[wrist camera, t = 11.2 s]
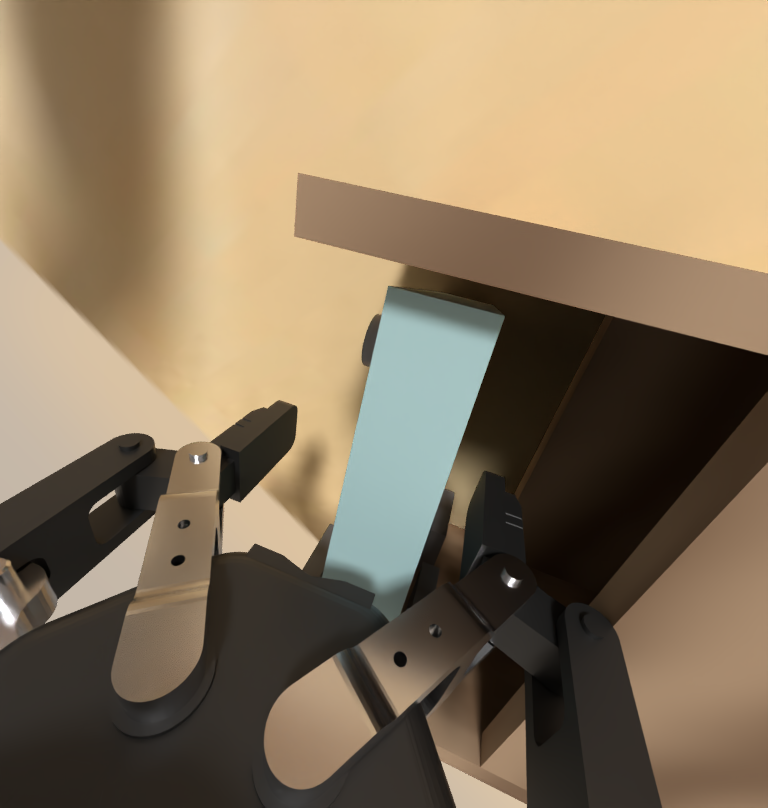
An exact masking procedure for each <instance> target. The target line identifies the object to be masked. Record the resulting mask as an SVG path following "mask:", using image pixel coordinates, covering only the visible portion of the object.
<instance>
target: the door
mask: <svg viewBox="0 0 768 808" xmlns="http://www.w3.org/2000/svg"><path fill="white" fill-rule="evenodd" d="M504 318H505V316H504V315H503V314H502V313H501V312H500V311H499V310H498V309H497V308H496V307H495V306H493V305H490V304H486V303H482V302H479V301H475V300H471V299H467V298H463V297H459V296H455V295H451V294H447V293H443V292H437V291H428V290H420V289H411V288H402V287H393V286H388V290H387V294H386V299H385V303H384V307H383V312H382V315H379V314H377V315H375V316H374V318H373V319H372V321H371V323H370V325H369V327H368V330H367V332H366V336H365V339H364V343H363V349H362V363H363V365H365V366H369V367H370V369H369V373H368V378H367V382H366V386H365V391H364V395H363V400H362V404H361V408H360V413H359V417H358V422H357V426H356V430H355V435H354V439H353V444H352V448H351V452H350V457H349V461H348V466H347V470H346V474H345V479H344V483H343V488H342V492H341V496H340V501H339V505H338V510H337V514H336V518H335V523H334V527H333V532H332V536H331V540H330V545H329V549H328V554H327V558H326V562H325V567H324V571H323V576H322V578H328V579H334V580H341V581H346V582H348V583H351V584H353V585H355V586H358V587H360V588H362V589H365V590H367V591H370V592H372V593H374V594H375V597H374V601H373V604H372V605H374V606H375V607H376V608H377V609H379V610H380V611H381V612H382V613H383V614H384V615H385V617H386V618H387V619H388V620H389V622H390V621H392V620H393V619H395V618H396V617H398V616H399V615H400V613H401V610H402V608H403V605H404V602H405V599H406V596H407V593H408V590H409V588H410V585H411V582H412V579H413V576H414V573H415V571H416V568H417V565H418V562H419V559H420V556H421V554H422V551H423V548H424V545H425V542H426V539H427V536H428V534H429V531H430V528H431V525H432V522H433V519H434V517H435V514H436V511H437V508H438V505H439V502H440V500H441V497H442V494H443V491H444V488H445V485H446V482H447V480H448V477H449V474H450V471H451V468H452V465H453V463H454V460H455V457H456V454H457V451H458V448H459V446H460V443H461V440H462V437H463V434H464V431H465V428H466V426H467V423H468V420H469V417H470V414H471V411H472V409H473V406H474V403H475V400H476V397H477V394H478V392H479V389H480V386H481V383H482V380H483V377H484V374H485V372H486V369H487V366H488V363H489V360H490V357H491V355H492V352H493V349H494V346H495V343H496V340H497V338H498V335H499V332H500V329H501V326H502V323H503V321H504Z"/></svg>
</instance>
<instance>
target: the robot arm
mask: <svg viewBox="0 0 768 808" xmlns="http://www.w3.org/2000/svg"><path fill="white" fill-rule="evenodd" d="M296 423H297V406H295V405H292V404H289V403H286V402H283V401H280V400H279V401H277V402H275V403H274V404H273V405H271V406H270V407H269V408H268V409H267V408H264V407H263V408H260V409H257V410H255V411H252V412H250V413H249V414H247V415H246V416H245V417H243V419H241V420H239V421H238V422H237V423H236V424H235V425H232V426H231V427H230V428H228V429H227V430H226V431H224V432H223V433H222V434H220V435H219V436H218V437H216V438H215V439H214V440H212V441H211V442H194V443H190V444H187V445H185V446H183V447H182V448H180V449H179V450H178V451H175V450H166V449H157V448H155V443H154V440H153V438H152V437H150V436H148V435H145V434H140V433H134V434H133V433H132V434H126V435H122V436H119V437H116V438H114V439H112V440H110V441H108V442H107V443H105V444H103V445H102V446H100V447H98V448H96V449H95V450H93V451H91V452H89V453H88V454H86V455H84V456H83V457H81V458H79V459H77V460H76V461H74V462H72V463H70V464H69V465H67V466H65V467H63V468H62V469H60V470H59V471H57V472H55V473H53V474H51V475H50V476H48V477H46V478H45V479H43V480H41V481H39V482H37V483H36V484H34V485H32V486H31V487H29V488H27V489H25V490H24V491H22V492H20V493H19V494H17V495H15V496H14V497H12V498H10V499H8V500H6V501H5V502H3V503H1V504H0V808H456V806H455V803H454V800H453V797H452V794H451V791H450V788H449V785H448V782H447V779H446V776H445V773H444V770H443V767H442V764H441V761H440V758H439V755H438V752H437V749H436V746H435V743H434V740H433V737H432V734H431V731H430V728H429V725H428V722H427V718H428V717H429V716H430V715H431V714H432V713H433V712H434V711H435V710H436V709H437V708H438V707H439V706H440V705H441V704H442V703H443V702H444V701H445V700H446V699H447V698H448V696H449V695H450V694H451V693H452V692H453V690H454V689H455V688H456V687H457V686H458V685H459V683H460V682H461V681H462V680H463V679H464V678H465V677H466V676H467V675H468V674H469V673H470V672H471V671H472V670H473V669H474V668H475V667H476V666H477V665H478V664H479V663H480V662H481V661H482V660H483V659H484V658H485V657H486V656H487V655H488V654H489V653H490V652H491V651H492V650H493V649H494V648H495V647H497V648H499V649H500V650H501V651H502V652H504V653H505V654H506V655H507V656H509V657H510V658H511V659H512V660H514V661H515V662H516V663H517V664H519V665H520V666H521V667H522V668H524V674H525V726H526V778H527V808H662V805H661V801H660V797H659V793H658V789H657V785H656V781H655V777H654V773H653V769H652V765H651V761H650V758H649V754H648V750H647V746H646V742H645V738H644V734H643V730H642V726H641V722H640V718H639V714H638V710H637V706H636V703H635V699H634V695H633V691H632V687H631V683H630V679H629V675H628V671H627V667H626V663H625V659H624V655H623V651H622V647H621V644H620V640H619V637H618V635H617V632H616V631H615V629H614V627H613V626H612V625H611V623H610V622H609V621H608V620H607V619H606V618H605V617H604V616H603V615H602V614H601V613H600V612H599V611H597V610H596V609H594V608H593V607H591V606H589V605H586V604H583V603H571V604H569V605H568V606H567V607H565V606H564V605H562V604H561V603H559V602H558V601H556V600H555V599H553V598H552V597H550V596H549V595H548V594H546V593H545V592H544V591H542V590H541V589H540V588H539V587H538V586H537V583H536V579H535V576H534V574H533V572H532V571H531V570H530V568H529V567H528V566H527V565H526V556H525V544H524V532H523V520H522V507H521V505H520V503H519V501H518V500H517V498H516V496H515V495H513V494H510V493H508V492H505V478H504V477H502V476H499V475H496V474H493V473H491V472H488V471H484V472H483V474H482V476H481V478H480V481H479V483H478V485H477V487H476V490H475V492H474V494H473V496H472V499H471V501H470V504H469V507H468V511H467V517H466V526H465V535H464V544H463V553H462V562H461V571H460V580H459V582H457V583H456V584H454V585H452V584H451V583H450V582H447V583H445V584H443V585H441V586H440V587H439V588H437V589H436V590H434V591H433V592H431V593H430V594H429V595H427V596H426V597H424V598H423V599H422V600H420V601H419V602H417V603H416V604H414V605H413V606H412V607H410V608H409V609H407V610H406V611H405V612H403V613H402V614H400V615H399V616H398V617H396V618H395V619H393V620H392V621H390V622H389V620H388V619H387V618H386V617H385V615H384V614H383V613H382V612H381V611H380V610H379V609H377V608H376V607H375V606H374V605H372V604H373V601H374V597H375V594H374V593H372V592H370V591H367V590H365V589H362V588H360V587H358V586H355V585H353V584H351V583H348V582H346V581H341V580H334V579H328V578H321V577H314V576H310V575H308V574H306V573H305V572H304V571H302V570H301V569H300V568H299V567H297V566H296V565H295V564H294V563H292V562H291V561H290V560H288V559H287V558H286V557H285V556H283V555H281V554H279V553H276V552H274V551H272V550H269V549H267V548H264V547H262V546H260V545H257V544H254V545H253V547H252V548H251V549H250V551H249V552H248V553H247V552H230V553H224V554H222V538H223V518H224V503H225V502H226V501H227V500H228V499H229V498H230V499H233V500H235V501H238V502H241V501H242V500H243V499H244V498H245V497H246V496H247V494H248V493H249V492H250V491H251V490H252V489H253V488H254V487H255V486H256V485H257V484H258V483H259V482H260V481H261V480H262V479H263V478H264V477H265V476H266V475H267V473H268V472H269V471H270V470H271V469H272V468H273V467H274V466H275V465H276V464H277V463H278V462H279V461H280V460H281V459H282V458H283V457H284V456H285V454H286V453H287V452H288V451H289V450H290V449H291V447H292V445H293V443H294V440H295V436H296ZM114 489H115V493H116V495H114V496H113V497H112V498H110V499H109V500H107V501H106V502H105V503H103V504H102V505H101V506H99V507H98V508H97V509H95V510H94V511H92V512H91V513H90V514H89V512H90V510H91V508H92V506H93V505H94V504H95V503H97V502H98V501H99V500H100V499H102V498H103V497H105V496H106V495H107V494H109V493H110V492H112V491H113V490H114ZM154 514H155V517H154V522H153V526H152V529H151V534H150V538H149V541H148V546H147V549H146V553H145V558H144V562H143V565H142V570H141V574H140V577H139V581H138V586H137V587H135V588H132V589H130V590H127V591H125V592H122V593H120V594H118V595H115V596H113V597H110V598H108V599H105V600H103V601H100V602H98V603H95V604H93V605H90V606H88V607H86V608H83V609H80V610H78V611H75V612H73V613H70V614H68V615H65V616H63V617H60V618H58V619H56V620H53V621H51V622H48V623H46V624H45V622H46V621H47V620H48V619H49V618H50V617H51V615H52V614H53V612H54V610H55V608H56V606H57V600H58V599H59V598H60V597H61V596H62V595H63V594H64V593H65V592H67V591H68V590H69V589H70V588H71V587H72V586H73V585H75V584H76V583H77V582H78V581H79V580H80V579H81V578H82V577H84V576H85V575H86V574H87V573H88V572H89V571H90V570H92V569H93V568H94V567H95V566H96V565H97V564H98V563H99V562H101V561H102V560H103V559H104V558H105V557H106V556H108V555H109V554H110V553H111V552H112V551H113V550H114V549H115V548H117V547H118V546H119V545H120V544H121V543H122V542H123V541H125V540H126V539H127V538H128V537H129V536H130V535H131V534H132V533H134V532H135V531H136V530H137V529H138V528H139V527H140V526H141V525H143V524H144V523H145V522H146V521H147V520H148V519H149V518H151V517H152V516H153V515H154Z"/></svg>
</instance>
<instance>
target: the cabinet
mask: <svg viewBox="0 0 768 808" xmlns="http://www.w3.org/2000/svg"><path fill="white" fill-rule="evenodd" d="M294 236H295V237H299V238H303V239H307V240H311V241H315V242H319V243H323V244H327V245H331V246H335V247H339V248H343V249H347V250H351V251H355V252H359V253H363V254H367V255H371V256H375V257H379V258H382V259H386V260H390V261H394V262H398V263H402V264H406V265H410V266H414V267H418V268H422V269H426V270H430V271H434V272H438V273H442V274H446V275H450V276H454V277H458V278H462V279H466V280H470V281H474V282H478V283H482V284H486V285H490V286H494V287H498V288H502V289H506V290H510V291H514V292H518V293H522V294H526V295H530V296H534V297H538V298H542V299H546V300H550V301H554V302H558V303H562V304H566V305H570V306H574V307H578V308H582V309H586V310H590V311H594V312H598V313H602V314H606V316H605V318H604V319H603V321H602V323H601V325H600V327H599V329H598V331H597V333H596V335H595V337H594V339H593V341H592V343H591V345H590V347H589V349H588V351H587V353H586V355H585V357H584V359H583V360H582V362H581V364H580V366H579V368H578V370H577V372H576V374H575V376H574V378H573V380H572V382H571V384H570V386H569V388H568V390H567V392H566V394H565V396H564V398H563V400H562V401H561V403H560V405H559V407H558V409H557V411H556V413H555V415H554V417H553V419H552V421H551V423H550V425H549V427H548V429H547V431H546V433H545V435H544V437H543V439H542V441H541V442H540V444H539V446H538V448H537V450H536V452H535V454H534V456H533V458H532V460H531V462H530V464H529V466H528V468H527V470H526V472H525V474H524V476H523V478H522V480H521V482H520V483H519V485H518V487H517V489H516V491H515V493H514V495H515V496H516V498H517V500H518V501H519V503H520V505H521V507H522V520H523V532H524V544H525V556H526V565H527V566H528V567H529V568H530V570H531V571H532V572H533V574H534V576H535V579H536V583H537V586H538V587H539V588H540V589H541V590H542V591H544V592H545V593H546V594H548V595H549V596H550V597H552V598H553V599H555V600H556V601H558V602H559V603H561V604H562V605H564V606H565V607H567V606H568V605H569V604H571V603H583V604H586V605H589V606H591V607H593V608H594V609H596V610H597V611H599V612H600V613H601V614H602V615H603V616H604V617H605V618H606V619H607V620H608V621H609V622H610V623H611V625H612V626H613V627H614V629H615V631H616V632H617V635H618V637H619V640H620V644H621V647H622V651H623V655H624V659H625V663H626V667H627V671H628V675H629V679H630V683H631V687H632V691H633V695H634V699H635V703H636V706H637V710H638V714H639V718H640V722H641V726H642V730H643V734H644V738H645V742H646V746H647V750H648V754H649V758H650V761H651V765H652V769H653V773H654V777H655V781H656V785H657V789H658V793H659V797H660V801H661V805H662V808H768V274H767V273H763V272H758V271H753V270H749V269H744V268H739V267H735V266H730V265H725V264H721V263H716V262H711V261H707V260H702V259H697V258H693V257H688V256H683V255H679V254H674V253H669V252H665V251H660V250H655V249H651V248H646V247H641V246H637V245H632V244H627V243H623V242H618V241H613V240H609V239H604V238H599V237H595V236H590V235H585V234H581V233H576V232H571V231H567V230H562V229H557V228H553V227H548V226H543V225H539V224H534V223H529V222H525V221H520V220H515V219H511V218H506V217H501V216H497V215H492V214H487V213H483V212H478V211H473V210H469V209H464V208H459V207H455V206H450V205H445V204H441V203H436V202H431V201H427V200H422V199H417V198H413V197H408V196H403V195H399V194H394V193H389V192H385V191H380V190H375V189H371V188H366V187H361V186H357V185H352V184H347V183H343V182H338V181H334V180H329V179H324V178H320V177H315V176H310V175H306V174H301V173H298V182H297V199H296V216H295V233H294ZM454 493H455V492H452V491H449V490H446V489H444V491H443V494H442V497H441V500H440V502H439V505H438V508H437V511H436V514H435V517H434V519H433V522H432V525H431V528H430V531H429V534H428V536H427V539H426V542H425V545H424V548H423V551H422V554H421V556H420V559H419V562H418V565H417V568H416V571H415V573H414V576H413V579H412V582H411V585H410V588H409V590H408V593H407V596H406V599H405V602H404V605H403V608H402V610H401V613H400V614H402V613H403V612H405V611H406V610H407V609H409V608H410V607H412V606H413V605H414V604H416V603H417V602H419V601H420V600H422V599H423V598H424V597H426V596H427V595H429V594H430V593H431V592H433V591H434V590H436V589H437V588H439V587H440V586H441V585H443V584H445V583H447V582H450V583H451V584H452V585H454V584H456V583H457V582H459V580H460V571H461V562H462V553H463V544H464V535H465V530H464V529H462V528H459V527H456V526H454V525H451V524H449V519H450V514H451V509H452V504H453V499H454ZM333 527H334V525H332V524H330V525H329V527H328V528H327V530H326V532H325V533H324V535H323V537H322V538H321V540H320V541H319V543H318V545H317V547H316V548H315V550H314V552H313V553H312V555H311V556H310V558H309V560H308V562H307V563H306V565H305V567H304V568H303V570H302V571H304V572H305V573H306V574H308V575H310V576H314V577H321V578H322V576H323V571H324V567H325V562H326V558H327V554H328V549H329V545H330V540H331V536H332V532H333ZM427 722H428V725H429V728H430V731H431V734H432V737H433V740H434V743H435V746H436V749H437V752H438V755H439V758H440V760H441V761H443V762H445V763H447V764H448V765H451V766H452V767H454V768H456V769H459V770H460V771H462V772H464V773H466V774H468V775H470V776H472V777H474V778H476V779H478V780H480V781H482V782H484V783H486V784H488V785H490V786H492V787H494V788H496V789H498V790H500V791H502V792H504V793H506V794H508V795H510V796H512V797H514V798H515V799H517V800H519V801H521V802H524V803H525V804H527V778H526V726H525V674H524V668H522V667H521V666H520V665H519V664H517V663H516V662H515V661H514V660H512V659H511V658H510V657H509V656H507V655H506V654H505V653H504V652H502V651H501V650H500V649H499V648H497V647H495V648H494V649H493V650H492V651H491V652H490V653H489V654H488V655H487V656H486V657H485V658H484V659H483V660H482V661H481V662H480V663H479V664H478V665H477V666H476V667H475V668H474V669H473V670H472V671H471V672H470V673H469V674H468V675H467V676H466V677H465V678H464V679H463V680H462V681H461V682H460V683H459V685H458V686H457V687H456V688H455V689H454V690H453V692H452V693H451V694H450V695H449V696H448V698H447V699H446V700H445V701H444V702H443V703H442V704H441V705H440V706H439V707H438V708H437V709H436V710H435V711H434V712H433V713H432V714H431V715H430V716H429V717H428V718H427Z"/></svg>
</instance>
